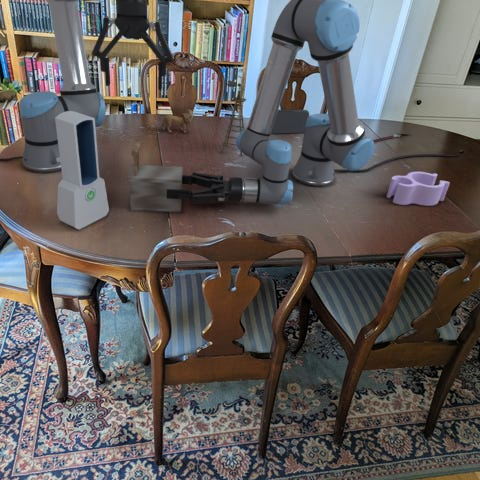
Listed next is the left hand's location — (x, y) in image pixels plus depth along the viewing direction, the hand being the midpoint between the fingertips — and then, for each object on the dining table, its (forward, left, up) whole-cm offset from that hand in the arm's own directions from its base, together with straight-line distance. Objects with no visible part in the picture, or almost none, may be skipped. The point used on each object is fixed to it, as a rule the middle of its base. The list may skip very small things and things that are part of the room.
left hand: (134, 86), depth 124 cm
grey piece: (+5, +1, -26) cm, 26 cm away
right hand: (+9, +2, -29) cm, 30 cm away
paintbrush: (+90, +90, -35) cm, 132 cm away
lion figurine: (-3, +65, -35) cm, 74 cm away
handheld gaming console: (+40, +80, -35) cm, 96 cm away
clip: (+89, +31, -35) cm, 101 cm away
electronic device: (-11, -13, -35) cm, 39 cm away
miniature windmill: (+23, +52, -35) cm, 67 cm away
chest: (+6, +1, -35) cm, 36 cm away
